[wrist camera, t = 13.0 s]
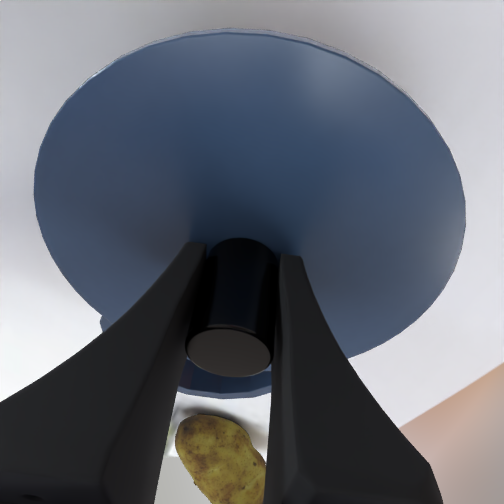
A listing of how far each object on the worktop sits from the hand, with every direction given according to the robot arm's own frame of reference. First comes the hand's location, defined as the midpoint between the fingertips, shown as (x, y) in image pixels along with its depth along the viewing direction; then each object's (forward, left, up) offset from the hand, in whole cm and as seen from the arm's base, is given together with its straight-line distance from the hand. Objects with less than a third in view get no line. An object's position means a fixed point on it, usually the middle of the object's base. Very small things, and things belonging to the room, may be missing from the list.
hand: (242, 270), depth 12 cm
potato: (+27, -26, -10) cm, 38 cm away
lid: (0, 0, -1) cm, 1 cm away
